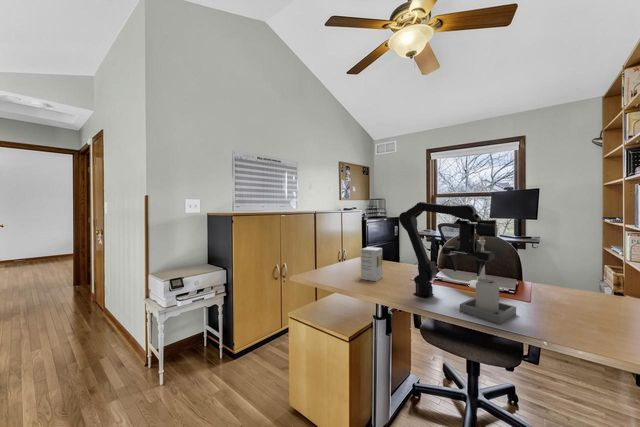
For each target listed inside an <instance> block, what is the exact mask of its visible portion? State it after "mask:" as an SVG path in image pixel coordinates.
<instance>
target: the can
mask: <svg viewBox="0 0 640 427" xmlns="http://www.w3.org/2000/svg"><path fill="white" fill-rule="evenodd" d="M475 297H476V308H477V309H480V310H484V311H487V312H490V313H494V314H496V313H498V312H499V302H500V300H499V299H500V285H499V284H498V282H497V280H494V279H489V278H485V279H478V282H477V283H476V289H475Z"/></svg>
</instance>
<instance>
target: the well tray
mask: <svg viewBox="0 0 640 427" xmlns="http://www.w3.org/2000/svg"><path fill="white" fill-rule="evenodd" d="M459 312H460V313H462V312H463V313H462V314H465V315H468V314H469V315H468V316H472V317H474V316H475V317H474V318H478V319H480V320H482V321H483V320H484V321H486V322H489V323H492V324H495V325H498V326H501V325H503V324H505V323H506V322H507V321H509V320H511V319H512V318H513V317H515V316H516V315H517V306H515V305H511V304H507V303H503V302H501V301H499V312H498V313H496V314H494V313H490V312H487V311H484V310H480V309H477V308H476V296H474V297H472V298H470V299H468V300H466V301H463V302H461V303H459Z"/></svg>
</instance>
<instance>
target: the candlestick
mask: <svg viewBox="0 0 640 427" xmlns="http://www.w3.org/2000/svg"><path fill="white" fill-rule="evenodd" d="M478 237H479V236H478ZM477 242H478V243H480V244H482V247H481V251H483V250H484V251H485V247H484V245H485V243H486V240H485V237H479V240H478V239H477ZM485 265H486V264H485ZM485 265H484V266H483V269H482V271H481V273H480V275H479V276H477V275H476V279H472V280H469V283H470V285H468V286H469V287H468V286H467V287H468V288H471V289H473V290H476V283H477V282H478V279H486V268H485V267H486V266H485Z"/></svg>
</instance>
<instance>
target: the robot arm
mask: <svg viewBox="0 0 640 427" xmlns="http://www.w3.org/2000/svg"><path fill="white" fill-rule="evenodd" d="M423 212H429V213H435V214H436V213H437V214H442V215H444V214H445V215H450V216H452V217H455V218H457V219H456V220H455V221H454V222H453V225H458V237H457V239H456V241H458V247H457V246H452V245H447V246H446V245H445V246H442V248H441V255H443V254H444V257H446V258H447V260H448V261H449V263H450V265H451V268H452V270H453V272H457V268H458V266H457V264H458V263H457V261H458V260H457V257H458V255H459V254H460V255H464V256H471V257H476V258H477V259H476V261H475V262H476V263H475V264H476V265H475V266H476V267H475V268H476V277H477V276H479V275H480V273H481V271H482V269H483V266H484V265H486V263H487V262H491V261H492V260H495V259H496V258H495V253H494V252H493V251H490V250H485V249H484V250H483V251H481V247H482V244H480V243H479V242H478V241H477V240H478V239H477V237H476V235H478V237H484V238H492V239H493V238H496V239H497V237H498V230H499V228H498V224H497V220H496V219H490V220H489V219H482V218H481V217H480V215H479V214H478V213H477V209H476V207H475V206H474V205H471V204H460V205H459V204H457V205H448V204H440V203H430V202H425V201H421V202H419V201H418V202H417V203H416V204H415V205H413V206H412V207H410V208H409V209H407V210H406V211H403V212H401V213H400V214H399V216H398V221H399V223H400V225H401V227H402V228H403V229H404V230H405V231H406V233H407V235H408V238H409V240H410V243H411V246H412V248H413V251H414V254H415V257H416V259H417V272H418V274H417V275H415V277H414V278H413V281H414V283H415V292H413V295H414V296H416V297H417V296H418V297H420V298H424V299H428V298H431V297H434V293H433V292H434V290H433V286H432V285H433V283H432V282H431V281H433V279H434V278H436V277H437V274H438V267H437V266H436V263H435V261H434V260H433V261H431V260H430V258H429V257H428V253H427V251H426V249H425V246H424V243H423V242H422V239H421V235H420V233H419V230H418V220H417V219H418V217H419V216H421V215H422V214H423Z"/></svg>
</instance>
